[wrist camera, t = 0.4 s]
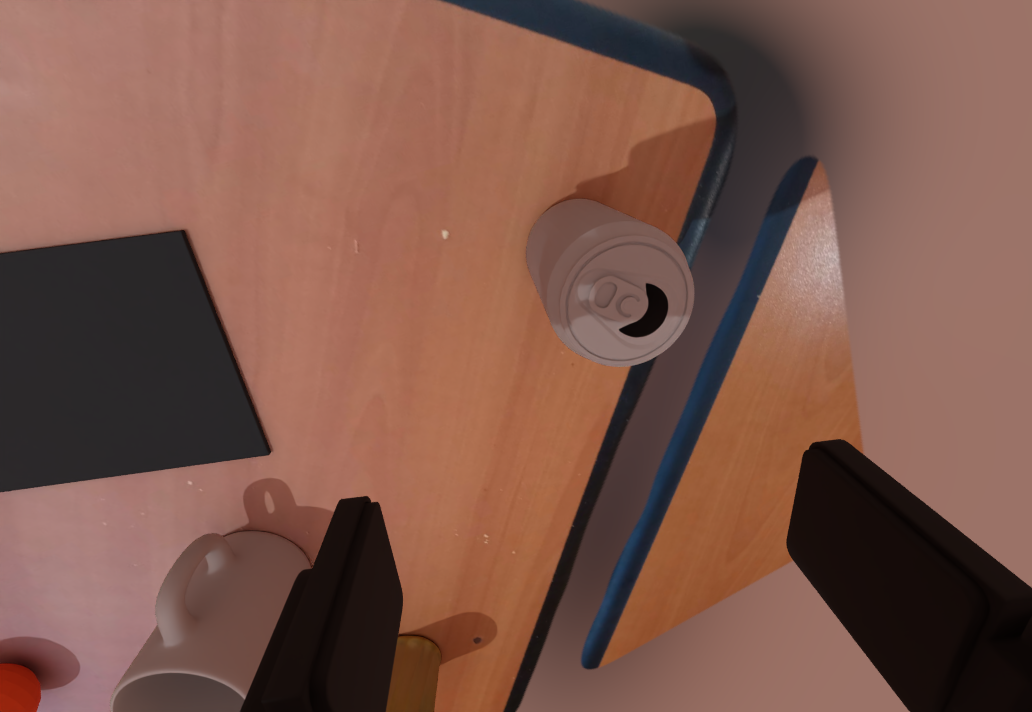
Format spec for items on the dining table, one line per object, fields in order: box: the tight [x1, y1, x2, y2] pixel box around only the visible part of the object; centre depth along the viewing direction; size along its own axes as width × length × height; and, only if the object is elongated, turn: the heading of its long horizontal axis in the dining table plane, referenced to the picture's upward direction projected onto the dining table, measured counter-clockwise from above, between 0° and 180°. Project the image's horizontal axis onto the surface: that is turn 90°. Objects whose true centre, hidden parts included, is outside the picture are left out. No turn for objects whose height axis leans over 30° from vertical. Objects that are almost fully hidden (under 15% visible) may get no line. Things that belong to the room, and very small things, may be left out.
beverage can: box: [526, 199, 694, 367], centre depth 25 cm, size 6×6×12 cm
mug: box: [110, 531, 311, 712], centre depth 33 cm, size 12×8×11 cm
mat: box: [0, 230, 271, 492], centre depth 31 cm, size 24×16×1 cm, turn 96°
